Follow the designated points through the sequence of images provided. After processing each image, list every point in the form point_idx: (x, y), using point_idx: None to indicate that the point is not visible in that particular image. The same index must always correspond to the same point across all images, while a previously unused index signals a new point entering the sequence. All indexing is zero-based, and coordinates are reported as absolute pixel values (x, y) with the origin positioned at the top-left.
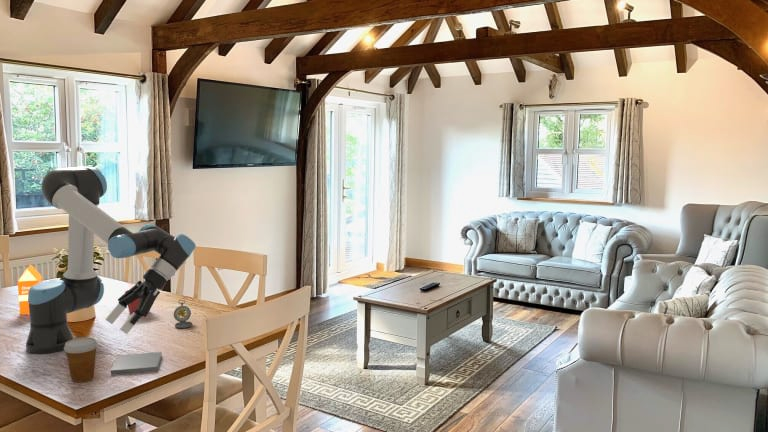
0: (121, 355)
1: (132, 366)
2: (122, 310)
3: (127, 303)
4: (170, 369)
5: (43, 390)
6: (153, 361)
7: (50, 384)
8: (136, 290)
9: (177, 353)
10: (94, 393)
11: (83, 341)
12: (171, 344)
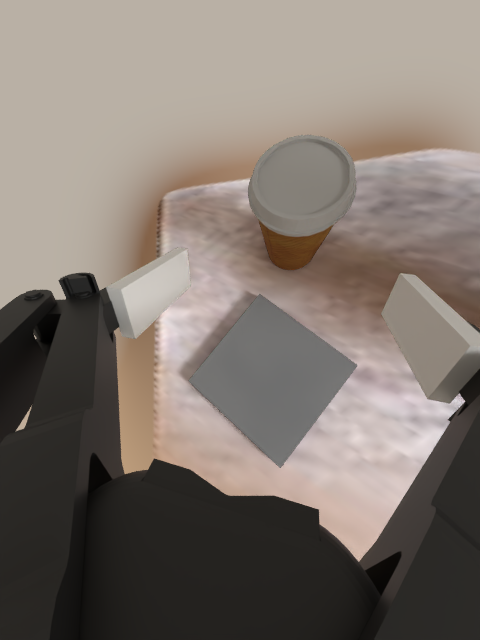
0: (346, 369)
1: (240, 341)
2: (420, 372)
3: (452, 424)
4: (175, 408)
5: None
6: (227, 398)
7: None
8: (385, 603)
9: None
10: (196, 234)
11: (310, 190)
12: None
